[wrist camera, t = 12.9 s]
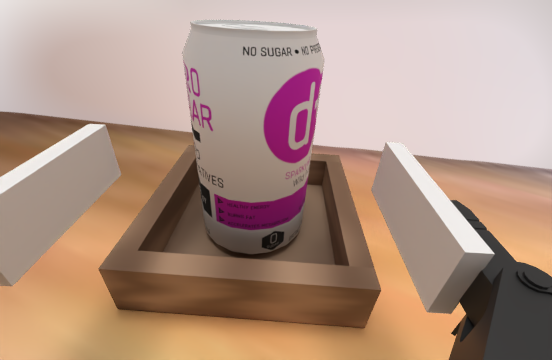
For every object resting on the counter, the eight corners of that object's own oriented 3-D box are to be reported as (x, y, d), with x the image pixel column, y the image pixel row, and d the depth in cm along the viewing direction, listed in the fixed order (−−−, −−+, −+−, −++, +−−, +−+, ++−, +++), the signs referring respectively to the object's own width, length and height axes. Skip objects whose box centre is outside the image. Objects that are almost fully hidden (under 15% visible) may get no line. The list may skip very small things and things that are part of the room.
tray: (117, 308, 17) (98, 269, 15) (193, 176, 31) (188, 145, 28) (364, 327, 17) (381, 290, 15) (332, 186, 30) (338, 155, 28)
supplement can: (318, 220, 24) (353, 29, 16) (256, 280, 18) (260, 35, 10) (252, 185, 28) (252, 19, 20) (185, 225, 23) (147, 19, 14)
